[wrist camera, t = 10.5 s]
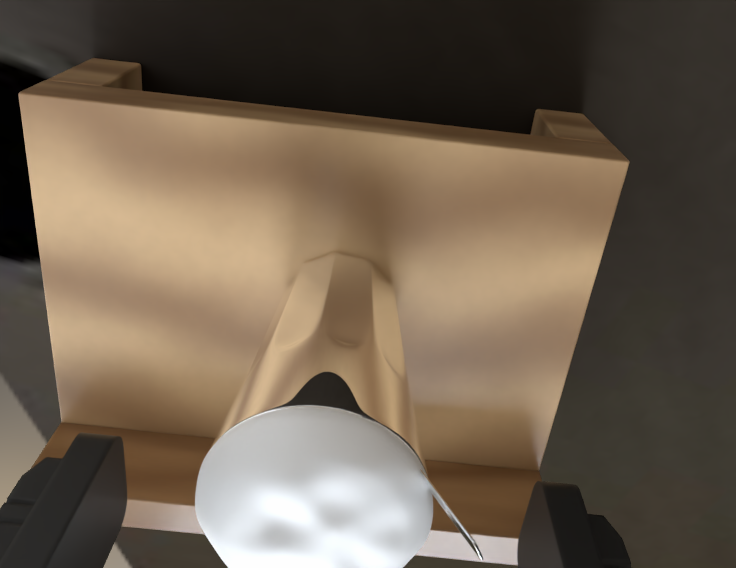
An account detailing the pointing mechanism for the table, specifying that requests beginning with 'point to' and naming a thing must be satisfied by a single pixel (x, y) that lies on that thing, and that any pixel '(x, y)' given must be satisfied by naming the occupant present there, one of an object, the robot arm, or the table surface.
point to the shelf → (286, 256)
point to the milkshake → (323, 436)
